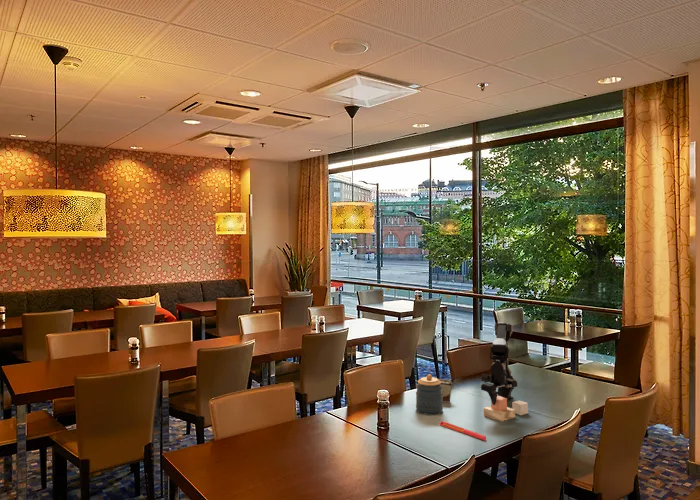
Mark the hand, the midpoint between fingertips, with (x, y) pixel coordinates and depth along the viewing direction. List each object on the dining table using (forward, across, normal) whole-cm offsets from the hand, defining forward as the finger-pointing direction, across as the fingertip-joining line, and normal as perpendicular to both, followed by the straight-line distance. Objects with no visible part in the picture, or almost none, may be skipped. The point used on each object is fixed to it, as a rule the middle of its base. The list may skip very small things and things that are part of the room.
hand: (499, 403), depth 244 cm
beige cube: (+6, -12, +2) cm, 14 cm away
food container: (+6, +6, -34) cm, 35 cm away
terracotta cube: (+2, 0, 0) cm, 2 cm away
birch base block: (+6, 0, 0) cm, 6 cm away
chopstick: (+7, +28, +5) cm, 29 cm away
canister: (+6, +22, -24) cm, 33 cm away
